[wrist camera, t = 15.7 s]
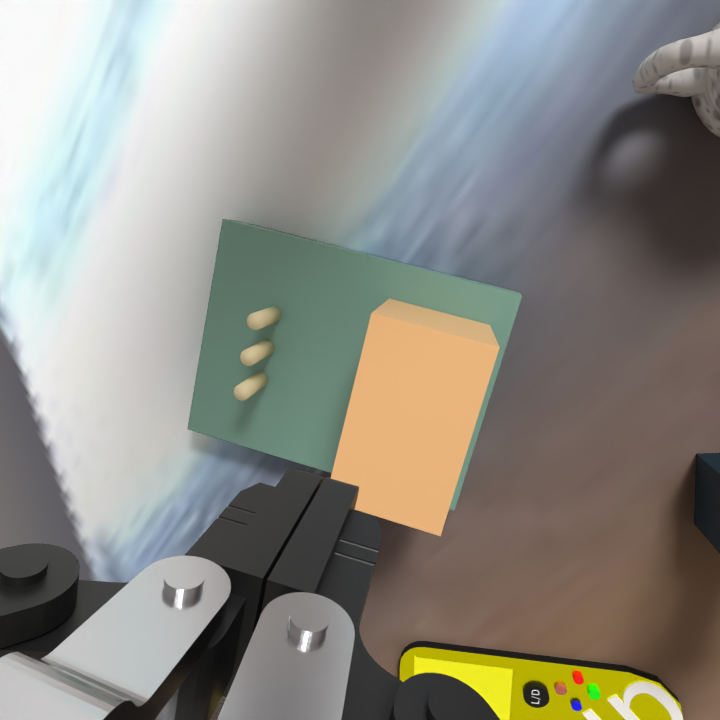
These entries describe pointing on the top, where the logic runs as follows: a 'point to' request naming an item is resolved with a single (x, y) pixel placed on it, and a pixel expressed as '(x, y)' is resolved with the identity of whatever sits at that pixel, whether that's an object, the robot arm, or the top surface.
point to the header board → (310, 338)
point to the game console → (546, 684)
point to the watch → (708, 497)
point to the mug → (687, 74)
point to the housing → (414, 412)
